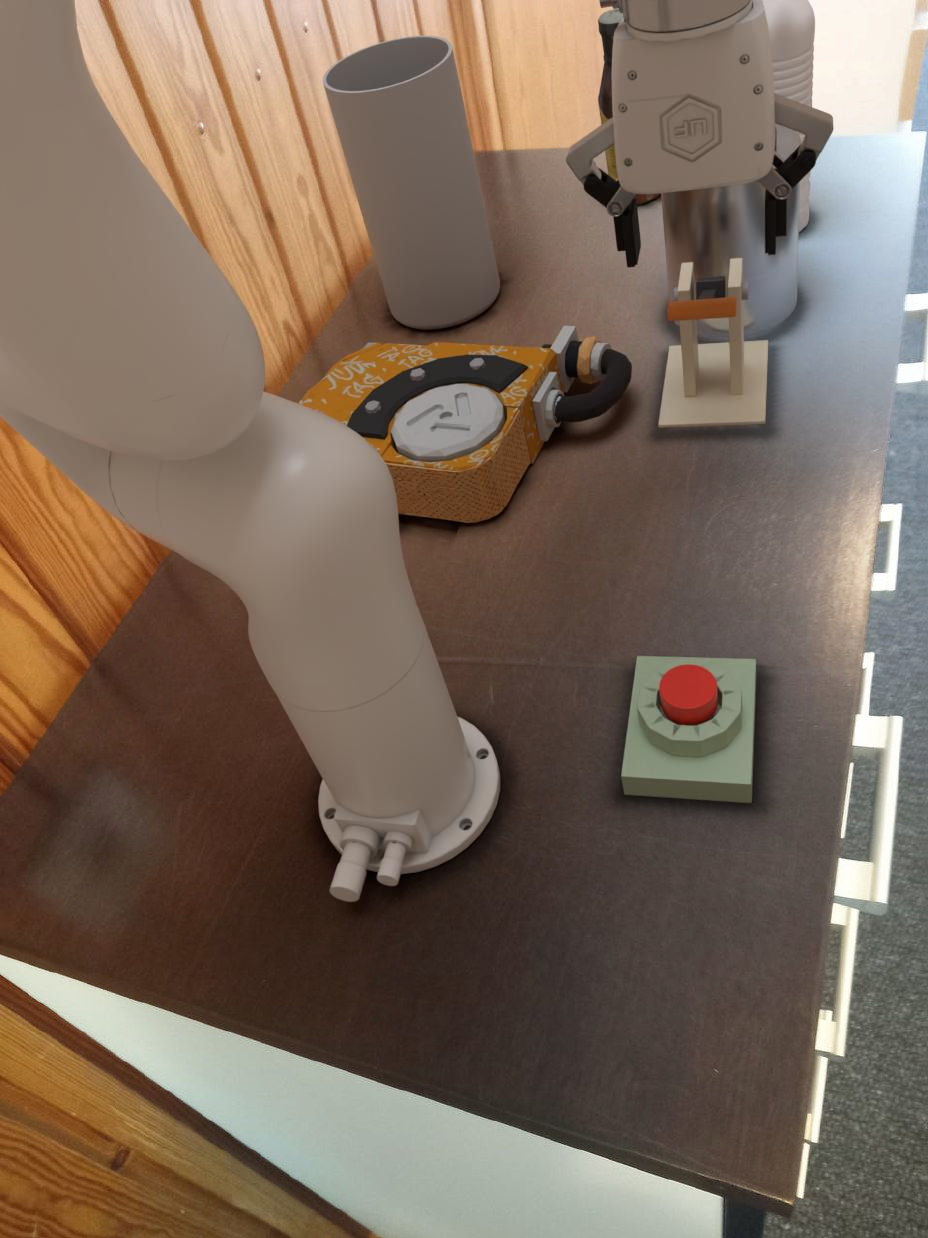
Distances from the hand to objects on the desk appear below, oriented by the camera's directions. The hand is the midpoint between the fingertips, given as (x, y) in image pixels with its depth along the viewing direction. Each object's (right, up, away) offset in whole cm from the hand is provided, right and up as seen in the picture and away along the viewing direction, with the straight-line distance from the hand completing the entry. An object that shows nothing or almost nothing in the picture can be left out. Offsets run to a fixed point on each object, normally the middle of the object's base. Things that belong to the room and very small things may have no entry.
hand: (701, 251), depth 74 cm
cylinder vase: (-19, +9, +40) cm, 45 cm away
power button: (-2, -32, -8) cm, 33 cm away
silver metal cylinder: (+9, +4, +27) cm, 29 cm away
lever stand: (+6, -6, +19) cm, 21 cm away
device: (-18, -11, +22) cm, 30 cm away
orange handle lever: (+2, -2, +8) cm, 9 cm away
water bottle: (+16, +15, +35) cm, 42 cm away
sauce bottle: (+3, +23, +47) cm, 53 cm away
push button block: (-2, -34, -5) cm, 35 cm away
